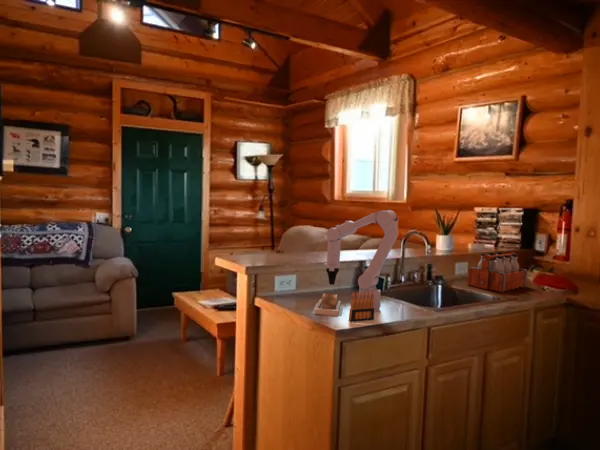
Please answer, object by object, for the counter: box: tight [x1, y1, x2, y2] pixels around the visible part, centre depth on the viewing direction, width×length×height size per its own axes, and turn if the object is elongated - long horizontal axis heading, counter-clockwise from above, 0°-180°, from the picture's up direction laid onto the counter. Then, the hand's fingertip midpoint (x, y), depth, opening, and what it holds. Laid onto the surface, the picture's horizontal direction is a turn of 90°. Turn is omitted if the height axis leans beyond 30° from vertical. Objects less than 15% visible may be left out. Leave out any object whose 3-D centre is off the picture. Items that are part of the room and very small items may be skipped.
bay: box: [311, 298, 344, 317], centre depth 202 cm, size 12×18×2 cm, turn 172°
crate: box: [321, 293, 338, 309], centre depth 206 cm, size 6×6×5 cm
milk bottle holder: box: [466, 251, 529, 293], centre depth 276 cm, size 21×35×19 cm, turn 130°
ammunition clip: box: [348, 290, 375, 323], centre depth 188 cm, size 11×2×12 cm, turn 116°
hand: (331, 284), depth 215 cm, fingers closed
